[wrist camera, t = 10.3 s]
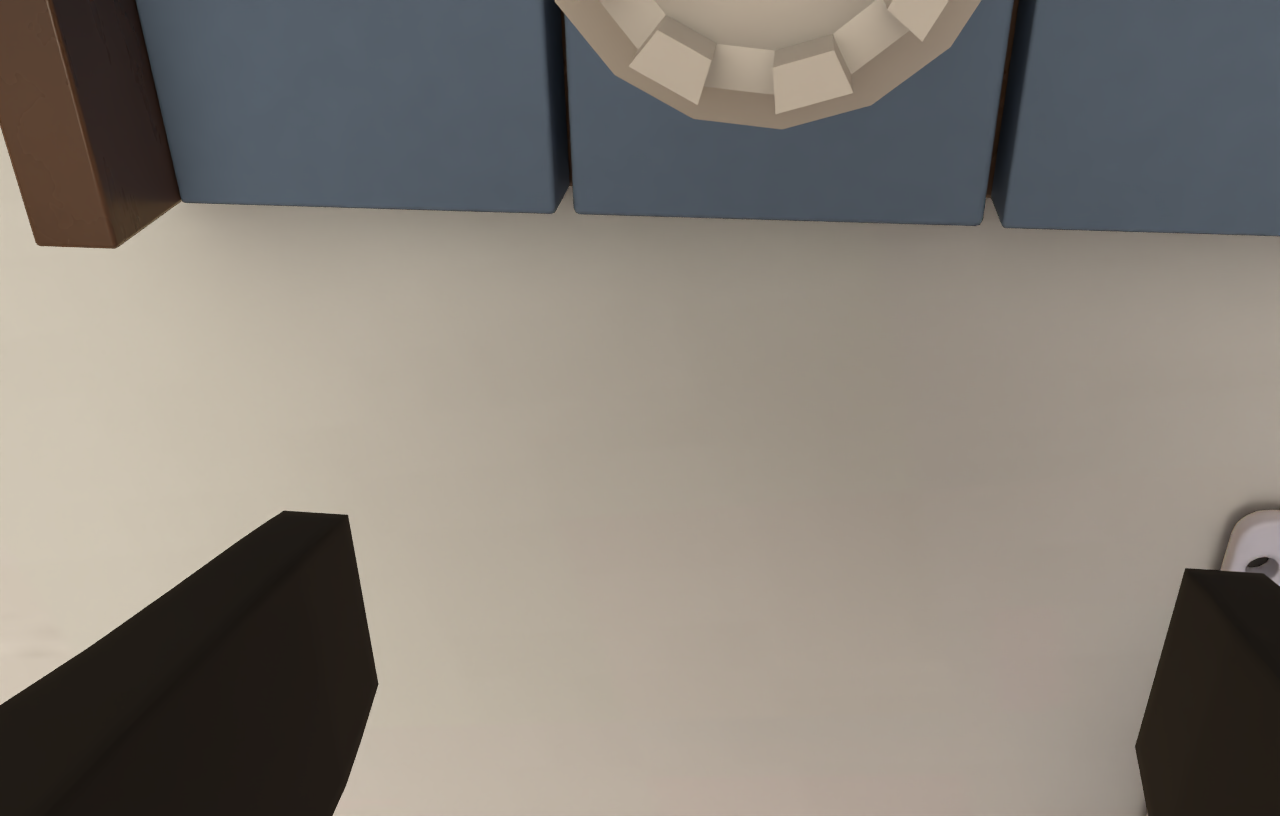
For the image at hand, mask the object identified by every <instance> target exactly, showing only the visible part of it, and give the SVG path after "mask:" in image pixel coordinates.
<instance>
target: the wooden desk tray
mask: <svg viewBox="0 0 1280 816" xmlns="http://www.w3.org/2000/svg"><path fill="white" fill-rule="evenodd" d="M0 126H1V130H2V133H3V136H4V139H5V143H6V146H7V149H8V153H9V156H10V159H11V163H12V166H13V169H14V172H15V176H16V179H17V182H18V186H19V189H20V192H21V195H22V199H23V202H24V205H25V209H26V212H27V215H28V219H29V222H30V225H31V228H32V232H33V235H34V238H35V242H36V243H37V245H39V246H56V247H84V248H112V249H115V248H117V247H119V246H120V245H122V244H123V243H124V242H126V241H127V240H129V239H130V238H131V237H133V236H134V235H135V234H137V233H138V232H140V231H141V230H142V229H144V228H145V227H146V226H148V225H149V224H151V223H152V222H153V221H155V220H156V219H158V218H159V217H160V216H162V215H163V214H164V213H166V212H167V211H169V210H170V209H171V208H173V207H174V206H175V205H177V204H178V203H180V202H181V201H183V202H185V203H207V204H240V205H274V206H307V207H340V208H374V209H407V210H441V211H474V212H507V213H541V214H552V213H555V211H556V209H557V208H558V206H559V204H560V202H561V200H562V199H563V197H564V195H565V193H566V191H567V189H568V187H569V186H573V204H574V209H575V211H576V213H578V214H589V215H623V216H656V217H690V218H723V219H757V220H790V221H824V222H857V223H891V224H924V225H958V226H977V225H980V223H981V222H982V220H983V215H984V208H985V200H986V197H988V198H991V199H992V201H993V204H994V207H995V209H996V212H997V214H998V217H999V219H1000V222H1001V224H1002V227H1004V228H1023V229H1057V230H1090V231H1123V232H1157V233H1190V234H1223V235H1257V236H1280V0H981V2H980V3H979V5H978V6H977V8H976V9H975V11H974V12H973V14H972V15H971V17H970V18H969V20H968V21H967V23H966V24H965V26H964V27H963V29H962V30H961V32H960V34H959V35H958V37H957V38H956V40H955V41H954V43H953V44H952V46H951V47H950V48H949V49H947V50H946V51H945V52H943V53H942V54H940V55H939V56H938V57H936V58H935V59H934V60H932V61H931V62H930V63H928V64H927V65H925V66H924V67H923V68H921V69H920V70H919V71H917V72H916V73H915V74H913V75H912V76H910V77H909V78H908V79H906V80H905V81H904V82H902V83H901V84H900V85H898V86H897V87H895V88H894V89H893V90H891V91H890V92H889V93H887V94H886V95H885V96H883V97H882V98H881V99H879V100H878V101H876V102H875V103H874V104H872V105H871V106H867V107H863V108H860V109H856V110H852V111H848V112H845V113H841V114H837V115H834V116H830V117H826V118H823V119H819V120H815V121H812V122H808V123H804V124H800V125H797V126H793V127H789V128H786V129H774V128H765V127H757V126H749V125H740V124H732V123H724V122H715V121H707V120H699V119H693V118H691V117H689V116H687V115H685V114H684V113H682V112H680V111H678V110H677V109H675V108H673V107H671V106H669V105H668V104H666V103H664V102H662V101H660V100H659V99H657V98H655V97H653V96H651V95H650V94H648V93H646V92H644V91H642V90H641V89H639V88H637V87H635V86H633V85H632V84H630V83H628V82H626V81H624V80H623V79H621V78H619V77H617V76H615V75H614V74H613V72H612V71H611V70H610V69H609V68H608V66H607V65H606V64H605V63H604V61H603V60H602V59H601V58H600V57H599V55H598V54H597V53H596V52H595V50H594V49H593V48H592V47H591V45H590V44H589V43H588V42H587V41H586V39H585V38H584V37H583V36H582V34H581V33H580V32H579V31H578V30H577V28H576V27H575V26H574V25H573V23H572V22H571V21H570V20H569V19H568V17H567V16H566V15H565V14H564V12H563V11H562V10H561V9H560V7H559V6H558V5H557V4H556V3H555V1H554V0H0Z"/></svg>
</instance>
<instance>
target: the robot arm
mask: <svg viewBox="0 0 1280 816" xmlns="http://www.w3.org/2000/svg"><path fill="white" fill-rule="evenodd" d="M1262 557H1268V558H1269V560H1268V561H1267V562H1266V563H1264V564H1263V565H1261V566H1259V567H1251V568H1250V567H1247V565H1248V564H1249V563H1250V562H1251V561H1253V560H1255V559H1257V558H1262ZM377 687H378V680H377V674H376V669H375V663H374V657H373V652H372V646H371V641H370V635H369V630H368V624H367V618H366V613H365V607H364V602H363V596H362V590H361V585H360V579H359V574H358V568H357V563H356V557H355V551H354V546H353V540H352V535H351V529H350V524H349V518H348V515H341V514H326V513H310V512H294V511H283V512H281V513H280V514H278V515H277V516H275V517H273V518H272V519H270V520H269V521H267V522H266V523H264V524H263V525H261V526H260V527H258V528H257V529H255V530H254V531H252V532H251V533H249V534H248V535H247V536H245V537H244V538H242V539H241V540H239V541H238V542H237V543H235V544H234V545H232V546H231V547H230V548H228V549H227V550H225V551H224V552H223V553H221V554H220V555H218V556H217V557H216V558H214V559H213V560H211V561H210V562H209V563H207V564H206V565H204V566H203V567H202V568H200V569H199V570H197V571H196V572H195V573H193V574H192V575H191V576H189V577H188V578H186V579H185V580H184V581H182V582H181V583H179V584H178V585H177V586H175V587H174V588H173V589H171V590H170V591H168V592H167V593H165V594H164V595H163V596H161V597H160V598H158V599H157V600H156V601H154V602H153V603H151V604H150V605H148V606H147V607H146V608H144V609H143V610H141V611H140V612H139V613H137V614H136V615H134V616H133V617H131V618H130V619H129V620H127V621H126V622H124V623H123V624H122V625H120V626H119V627H117V628H116V629H114V630H113V631H112V632H110V633H109V634H107V635H106V636H105V637H103V638H102V639H100V640H99V641H97V642H96V643H95V644H93V645H92V646H90V647H89V648H87V649H86V650H84V651H83V652H81V653H80V654H78V655H77V656H75V657H74V658H72V659H71V660H69V661H67V662H66V663H64V664H63V665H61V666H60V667H58V668H57V669H55V670H54V671H52V672H51V673H49V674H47V675H46V676H44V677H43V678H41V679H40V680H38V681H37V682H35V683H34V684H32V685H31V686H29V687H28V688H26V689H24V690H23V691H21V692H20V693H18V694H17V695H15V696H14V697H12V698H11V699H9V700H8V701H6V702H4V703H3V704H1V705H0V816H332V815H333V813H334V811H335V809H336V807H337V804H338V802H339V800H340V798H341V795H342V793H343V791H344V789H345V787H346V784H347V781H348V778H349V775H350V772H351V769H352V766H353V763H354V760H355V757H356V754H357V751H358V748H359V745H360V742H361V739H362V736H363V733H364V729H365V726H366V723H367V720H368V716H369V713H370V710H371V707H372V703H373V700H374V697H375V693H376V690H377ZM1135 748H1136V753H1137V759H1138V764H1139V769H1140V775H1141V780H1142V785H1143V791H1144V796H1145V801H1146V807H1147V814H1146V816H1280V510H1260V511H1256V512H1253V513H1251V514H1248V515H1246V516H1245V517H1243V518H1242V519H1241V520H1240V521H1239V522H1237V524H1236V525H1235V527H1234V529H1233V531H1232V533H1231V536H1230V539H1229V543H1228V546H1227V549H1226V553H1225V556H1224V559H1223V563H1222V566H1221V569H1220V571H1219V570H1204V569H1188V568H1185V572H1184V575H1183V579H1182V582H1181V586H1180V589H1179V593H1178V596H1177V600H1176V603H1175V607H1174V611H1173V614H1172V618H1171V621H1170V625H1169V628H1168V632H1167V635H1166V639H1165V642H1164V646H1163V650H1162V653H1161V657H1160V660H1159V664H1158V667H1157V671H1156V674H1155V678H1154V681H1153V685H1152V689H1151V692H1150V696H1149V699H1148V703H1147V706H1146V710H1145V713H1144V717H1143V720H1142V724H1141V728H1140V731H1139V735H1138V738H1137V742H1136V745H1135Z"/></svg>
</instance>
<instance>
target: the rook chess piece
mask: <svg viewBox="0 0 1280 816" xmlns="http://www.w3.org/2000/svg"><path fill="white" fill-rule="evenodd" d="M554 1H555V3H556V4H557V5H558V6H559V7H560V9H561V10H562V11H563V12H564V14H565V15H566V16H567V17H568V19H569V20H570V21H571V22H572V23H573V25H574V26H575V27H576V28H577V30H578V31H579V32H580V33H581V34H582V36H583V37H584V38H585V39H586V41H587V42H588V43H589V44H590V45H591V47H592V48H593V49H594V50H595V52H596V53H597V54H598V55H599V57H600V58H601V59H602V60H603V61H604V63H605V64H606V65H607V66H608V68H609V69H610V70H611V71H612V72H613V74H614V75H615V76H617V77H619V78H621V79H623V80H624V81H626V82H628V83H630V84H632V85H633V86H635V87H637V88H639V89H641V90H642V91H644V92H646V93H648V94H650V95H651V96H653V97H655V98H657V99H659V100H660V101H662V102H664V103H666V104H668V105H669V106H671V107H673V108H675V109H677V110H678V111H680V112H682V113H684V114H685V115H687V116H689V117H691V118H693V119H699V120H707V121H715V122H724V123H732V124H740V125H749V126H757V127H765V128H774V129H786V128H789V127H793V126H797V125H800V124H804V123H808V122H812V121H815V120H819V119H823V118H826V117H830V116H834V115H837V114H841V113H845V112H848V111H852V110H856V109H860V108H863V107H867V106H871V105H872V104H874V103H875V102H876V101H878V100H879V99H881V98H882V97H883V96H885V95H886V94H887V93H889V92H890V91H891V90H893V89H894V88H895V87H897V86H898V85H900V84H901V83H902V82H904V81H905V80H906V79H908V78H909V77H910V76H912V75H913V74H915V73H916V72H917V71H919V70H920V69H921V68H923V67H924V66H925V65H927V64H928V63H930V62H931V61H932V60H934V59H935V58H936V57H938V56H939V55H940V54H942V53H943V52H945V51H946V50H947V49H949V48H950V47H951V46H952V44H953V43H954V41H955V40H956V38H957V37H958V35H959V34H960V32H961V30H962V29H963V27H964V26H965V24H966V23H967V21H968V20H969V18H970V17H971V15H972V14H973V12H974V11H975V9H976V8H977V6H978V5H979V3H980V2H981V0H554Z"/></svg>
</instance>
